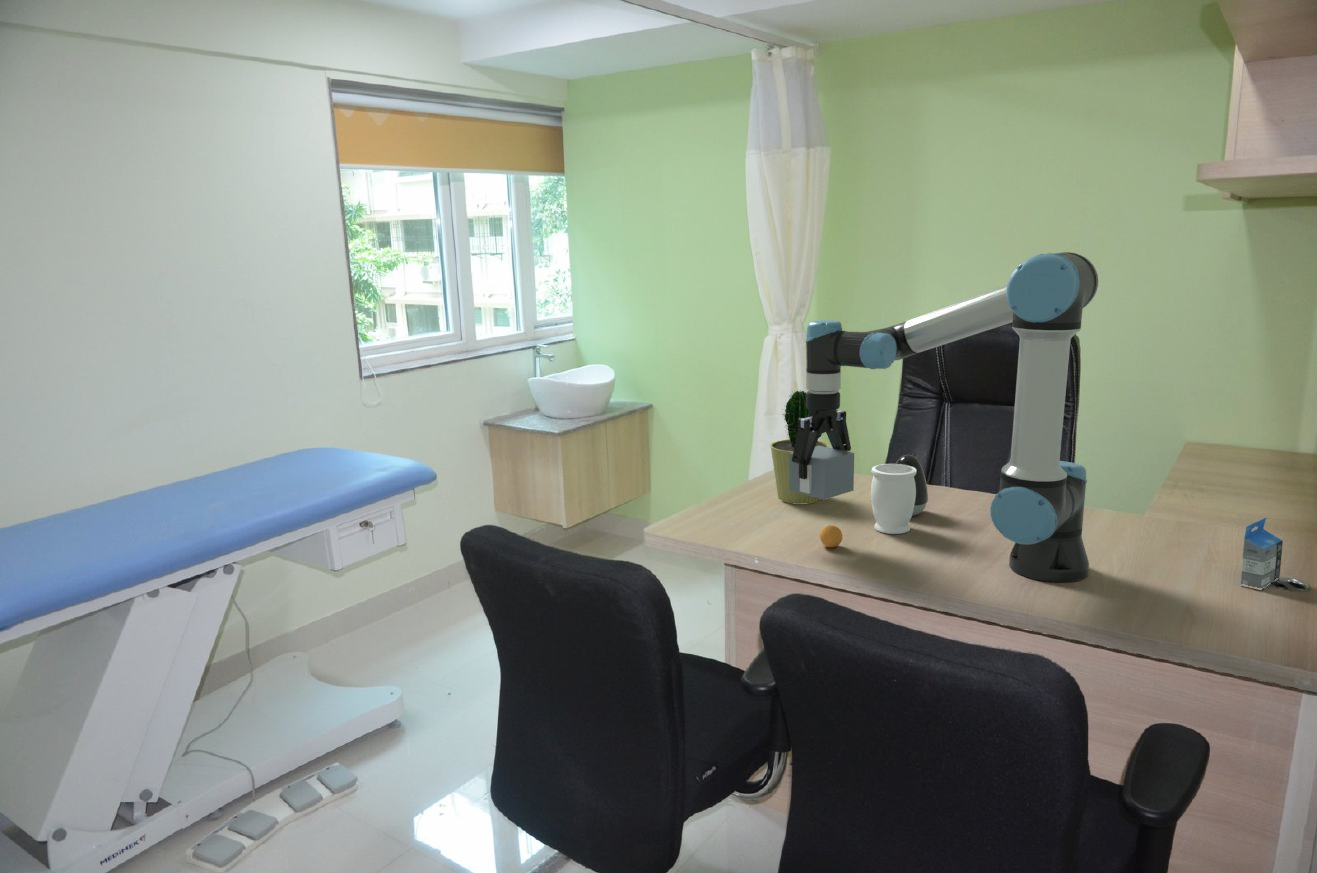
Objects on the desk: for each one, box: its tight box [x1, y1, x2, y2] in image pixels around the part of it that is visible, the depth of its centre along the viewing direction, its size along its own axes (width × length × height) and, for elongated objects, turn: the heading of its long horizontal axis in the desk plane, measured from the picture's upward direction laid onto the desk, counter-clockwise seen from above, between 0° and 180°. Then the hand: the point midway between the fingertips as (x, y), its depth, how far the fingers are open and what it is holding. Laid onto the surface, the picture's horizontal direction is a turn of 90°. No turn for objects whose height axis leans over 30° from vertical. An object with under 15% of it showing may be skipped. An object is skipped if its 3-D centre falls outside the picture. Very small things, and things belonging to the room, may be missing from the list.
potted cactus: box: [769, 390, 830, 504], centre depth 236 cm, size 15×15×30 cm
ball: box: [819, 524, 843, 548], centre depth 201 cm, size 5×5×5 cm
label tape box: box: [1240, 517, 1284, 588], centre depth 173 cm, size 9×4×12 cm, turn 126°
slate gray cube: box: [789, 446, 855, 501], centre depth 200 cm, size 10×10×9 cm
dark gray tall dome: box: [895, 453, 929, 517], centre depth 222 cm, size 10×10×15 cm
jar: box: [870, 463, 916, 535], centre depth 211 cm, size 11×10×15 cm
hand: (821, 487), depth 201 cm, fingers closed on slate gray cube, 10 cm apart
